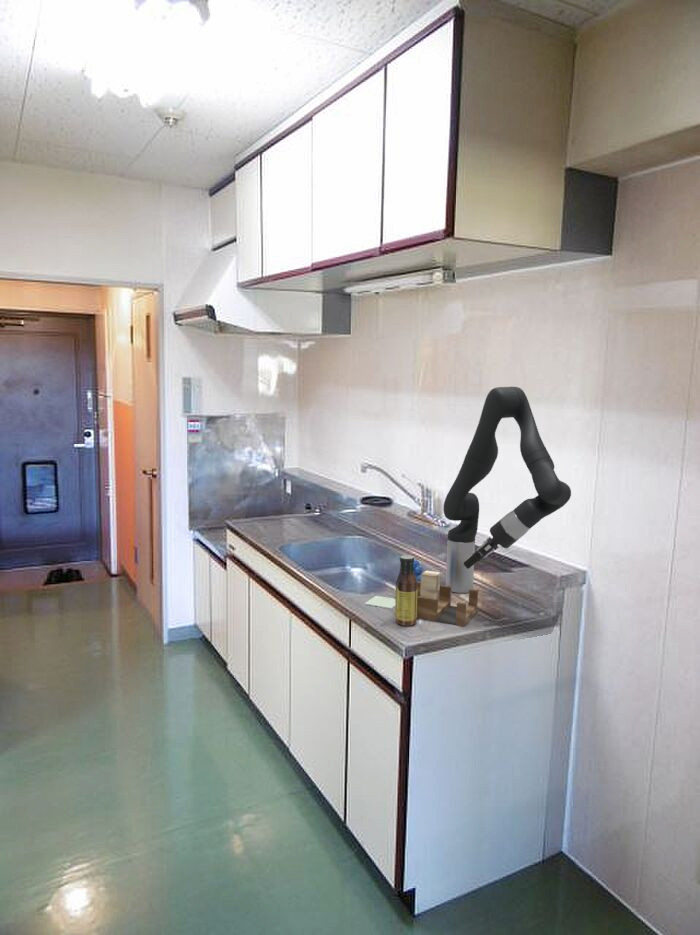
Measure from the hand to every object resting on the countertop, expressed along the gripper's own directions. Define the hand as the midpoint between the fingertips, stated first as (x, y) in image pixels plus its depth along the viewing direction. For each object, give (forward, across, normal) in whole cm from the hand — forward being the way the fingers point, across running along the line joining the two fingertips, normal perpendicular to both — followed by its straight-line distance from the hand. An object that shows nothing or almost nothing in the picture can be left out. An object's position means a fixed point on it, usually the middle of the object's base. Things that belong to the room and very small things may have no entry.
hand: (469, 562), depth 197 cm
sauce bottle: (+22, +13, +2) cm, 26 cm away
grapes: (+27, -15, -3) cm, 31 cm away
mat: (+31, -1, -8) cm, 32 cm away
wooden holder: (+19, 0, +5) cm, 19 cm away
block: (+19, 0, +2) cm, 19 cm away
